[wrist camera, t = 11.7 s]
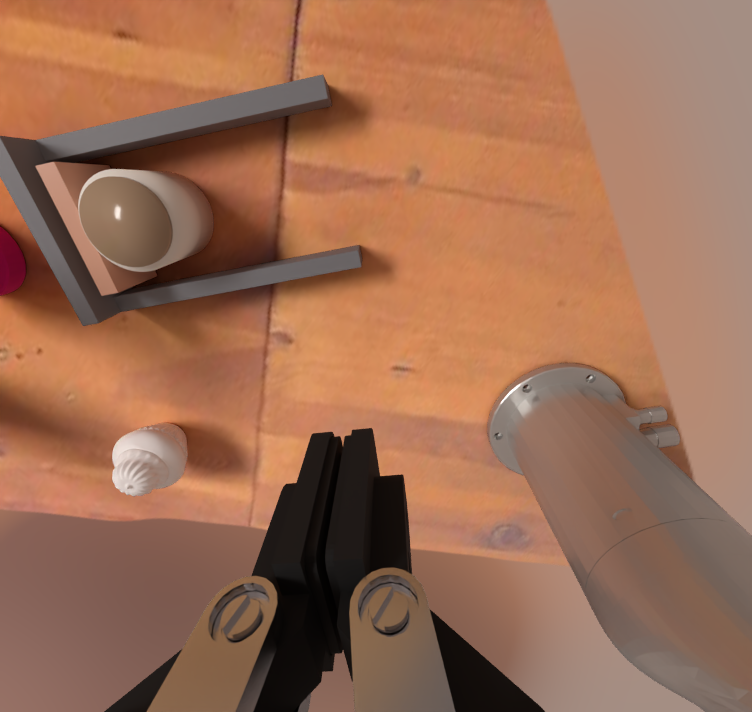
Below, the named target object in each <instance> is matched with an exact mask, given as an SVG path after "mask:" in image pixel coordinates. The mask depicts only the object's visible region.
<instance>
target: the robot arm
mask: <svg viewBox="0 0 752 712" xmlns="http://www.w3.org/2000/svg"><path fill="white" fill-rule="evenodd" d="M666 420H667V412H666V410H665V409H664V408H663V407H662V406H654V407H648V408H643V409H639V410H635V409H634V408H630V407H629V406H628V405H627V404H626V401H625V398H624V395H623V393H622V391H621V390H620V388H619V387H618V385H617V384H616V383H615V382H614V381H613V380H611V379H610V378H609V377H608V376H607V375H605V374H604V373H602V372H601V371H600V370H598V369H595V368H593V367H590V366H588V365H582V364H577V363H559V364H553V365H547V366H544V367H541V368H538V369H535V370H533V371H531V372H529V373H527V374H525V375H523V376H521V377H520V378H518V379H517V380H516V381H514V382H513V383H511V384H510V385H509V386H508V387H507V388H506V389H505V390H504V391H503V392H502V393H501V395H500V396H499V397H498V399H497V400H496V402H495V403H494V405H493V407H492V410H491V412H490V414H489V419H488V424H487V434H488V438H489V442H490V445H491V447H492V449H493V452H494V454H495V455H496V456H497V458H498V459H499V461H500V462H501V463H502V464H504V465H505V466H506V467H507V468H509V469H510V470H512V471H514V472H516V473H518V474H521V475H524V476H525V478H526V480H527V482H528V484H529V486H530V488H531V490H532V492H533V494H534V496H535V498H536V500H537V502H538V504H539V506H540V508H541V510H542V512H543V513H544V515H545V517H546V519H547V521H548V523H549V525H550V527H551V529H552V531H553V533H554V535H555V537H556V539H557V541H558V543H559V545H560V547H561V549H562V551H563V553H564V555H565V557H566V559H567V561H568V562H569V564H570V566H571V568H572V570H573V572H574V574H575V576H576V578H577V580H578V582H579V584H580V586H581V588H582V590H583V592H584V594H585V596H586V597H587V600H588V602H589V604H590V606H591V608H592V610H593V612H594V614H595V616H596V618H597V620H598V621H599V623H600V625H601V627H602V628H603V630H604V632H605V633H606V635H607V636H608V638H609V639H610V640H611V641H612V643H613V645H614V646H615V647H616V648H617V649H618V650H619V651H620V653H621V654H622V655H623V656H624V657H625V658H626V659H627V660H628V661H629V662H630V663H632V664H633V665H634V666H635V667H636V668H637V669H639V670H640V671H641V672H643V673H644V674H646V675H647V676H648V677H650V678H651V679H653V680H654V681H656V682H657V683H659V684H661V685H662V686H664V687H666V688H667V689H669V690H671V691H672V692H674V693H676V694H678V695H680V696H681V697H683V698H685V699H687V700H688V701H690V702H692V703H694V704H695V705H697V706H698V707H700V708H701V709H702V710H703V711H705V712H752V536H751V535H750V534H749V533H748V532H747V531H746V530H745V529H744V528H743V527H742V526H741V525H740V524H739V523H737V522H736V521H735V520H734V519H733V518H732V517H731V516H730V515H729V514H728V513H727V512H726V511H725V510H724V509H723V508H721V507H720V506H719V505H718V504H717V503H716V502H715V501H714V500H713V499H712V498H711V497H710V496H709V495H708V494H707V493H705V492H704V491H703V490H702V489H701V488H700V487H699V486H698V485H697V484H696V483H695V482H694V481H693V480H692V479H691V478H689V477H688V476H687V475H686V474H685V473H684V472H683V471H682V470H681V469H680V468H679V467H678V466H677V465H676V464H675V463H673V462H672V461H671V460H670V459H669V458H668V457H667V456H666V455H665V454H664V453H663V452H662V451H661V450H660V449H658V448H664V447H671V446H676V445H678V444H679V442H680V436H679V433H678V431H677V429H676V428H675V427H674V426H672V425H671V424H667V425H660V426H653V427H647V428H646V429H639V426H640V424H644V423H649V424H650V423H657V422H663V421H666ZM342 650H344V654H345V657H346V661H347V665H348V668H349V672H350V676H351V679H352V681H353V691H354V707H355V708H354V709H355V712H545V711H544V710H543V709H542V708H541V707H540V706H539V705H538V704H537V703H536V702H534V701H533V700H532V699H531V698H530V697H529V696H528V695H526V694H525V693H524V692H523V691H522V690H521V689H520V688H519V687H517V686H516V685H515V684H514V683H513V682H512V681H511V680H509V679H508V678H507V677H506V676H505V675H504V674H503V673H502V672H500V671H499V670H498V669H497V668H496V667H495V666H494V665H492V664H491V663H490V662H489V661H488V660H487V659H486V658H484V657H483V656H482V655H481V654H480V653H479V652H478V651H477V650H475V649H474V648H473V647H472V646H471V645H470V644H469V643H467V642H466V641H465V640H464V639H463V638H462V637H461V636H460V635H458V634H457V633H456V632H455V631H454V630H452V628H450V627H449V626H448V625H447V624H446V623H445V622H444V621H442V620H441V619H440V618H439V617H438V616H437V615H436V614H435V613H433V612H432V611H431V610H430V609H429V605H428V601H427V597H426V594H425V591H424V589H423V587H422V585H421V583H420V582H419V581H418V580H417V579H416V578H415V576H413V575H412V568H411V553H410V536H409V522H408V511H407V501H406V492H405V484H404V477H403V475H391V476H380V473H379V466H378V460H377V453H376V447H375V441H374V434H373V430H372V428H369V429H358V430H352V434H351V435H350V436H345V439H344V445H342V441H341V437H340V436H338V437H334V434H333V432H325V433H314V434H312V436H311V438H310V442H309V445H308V448H307V451H306V454H305V458H304V461H303V464H302V467H301V470H300V474H299V477H298V480H297V483H292V484H286V485H285V486H284V487H283V489H282V491H281V494H280V497H279V500H278V503H277V505H276V508H275V511H274V514H273V517H272V520H271V522H270V525H269V528H268V531H267V534H266V537H265V539H264V542H263V545H262V548H261V551H260V554H259V557H258V559H257V562H256V565H255V568H254V571H253V573H252V576H247V577H244V578H241V579H238V580H235V581H234V582H232V583H230V584H229V585H227V586H225V587H224V588H223V589H222V590H221V591H220V592H219V593H218V594H217V595H215V596H214V598H213V599H212V601H211V602H210V603H209V604H208V606H207V607H206V609H205V611H204V612H203V614H202V616H201V618H200V619H199V621H198V623H197V625H196V626H195V628H194V630H193V632H192V633H191V635H190V637H189V639H188V640H187V642H186V644H185V646H184V647H183V649H182V650H180V651H179V652H178V653H177V654H176V655H174V656H173V657H172V658H171V659H169V660H168V661H167V662H166V663H164V664H163V665H162V666H161V667H160V668H158V669H157V670H156V671H154V672H153V673H152V674H151V675H149V676H148V677H147V678H146V679H144V680H143V681H142V682H141V683H140V684H138V685H137V686H136V687H134V688H133V689H132V690H131V691H129V692H128V693H127V694H126V695H125V696H123V697H122V698H121V699H120V700H118V701H117V702H116V703H115V704H113V705H112V706H111V707H109V708H108V709H107V710H106V711H105V712H308V710H309V704H310V697H311V692H312V691H313V690H314V689H315V688H316V687H317V686H318V684H319V683H320V682H321V678H322V672H323V671H333V665H334V664H333V663H334V656H335V653H342Z"/></svg>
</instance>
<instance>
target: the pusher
mask: <svg viewBox="0 0 752 712" xmlns="http://www.w3.org/2000/svg"><path fill="white" fill-rule="evenodd" d="M35 167H36V168H37V170H38V172H39V174H40V176H41V178H42V180H43V182H44V184H45V186H46V188H47V190H48V192H49V194H50V196H51V198H52V200H53V202H54V204H55V206H56V208H57V209H58V211H59V213H60V215H61V217H62V219H63V221H64V223H65V225H66V227H67V229H68V231H69V233H70V235H71V237H72V239H73V241H74V243H75V245H76V247H77V249H78V250H79V252H80V254H81V256H82V258H83V260H84V262H85V264H86V266H87V268H88V270H89V272H90V274H91V276H92V278H93V280H94V282H95V284H96V286H97V288H98V290H99V292H100V293H101V295H102V296H104V295H109V294H114V293H119V292H121V291H123V290H126V289H128V288H130V287H133V286H135V285H138V284H140V283H142V282H145V281H147V280H149V279H152V278H154V277H156V276H157V274H156V271H155V270H153V271H148V272H137V271H131V270H127V269H124V268H122V267H120V266H117V265H115V264H114V263H112V262H111V261H109V260H108V259H106V258H105V257H104V256H103V255H101V254H100V253H99V252H98V251H97V250H96V248H95V247H94V246H93V245H92V243H91V242H90V241H89V239H88V237H87V236H86V234H85V232H84V230H83V227H82V225H81V222H80V218H79V211H78V202H79V196H80V193H81V190H82V188H83V186H84V184H85V183H86V182H87V181H88V179H89V178H91V177H92V176H93V175H95V174H96V173H98V172H101V171H104V170H109V169H111V168H110V166H109V165H96V164H81V163H66V162H50V163H46V164H41V165H37V166H35Z"/></svg>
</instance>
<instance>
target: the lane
mask: <svg viewBox="0 0 752 712" xmlns="http://www.w3.org/2000/svg"><path fill="white" fill-rule="evenodd" d="M330 106H332V103H331V98H330V93H329V88H328V84H327V82H326V80H325V78H324V76H323V75H319V76H314V77H310V78H306V79H301V80H297V81H293V82H288V83H284V84H279V85H275V86H271V87H266V88H262V89H258V90H253V91H249V92H244V93H240V94H236V95H231V96H227V97H222V98H218V99H214V100H209V101H205V102H201V103H196V104H192V105H187V106H183V107H179V108H174V109H170V110H166V111H161V112H157V113H152V114H148V115H144V116H139V117H135V118H131V119H126V120H122V121H117V122H113V123H109V124H104V125H100V126H96V127H91V128H87V129H82V130H78V131H74V132H69V133H65V134H60V135H56V136H52V137H47V138H43V139H39V140H29V139H21V138H13V137H5V136H0V177H1V179H2V181H3V182H4V184H5V186H6V188H7V190H8V191H9V193H10V195H11V197H12V199H13V200H14V202H15V204H16V206H17V208H18V209H19V211H20V213H21V215H22V217H23V218H24V220H25V222H26V224H27V226H28V227H29V229H30V231H31V233H32V235H33V237H34V238H35V240H36V242H37V244H38V246H39V247H40V249H41V251H42V253H43V255H44V256H45V258H46V260H47V262H48V264H49V265H50V267H51V269H52V271H53V273H54V274H55V276H56V278H57V280H58V282H59V283H60V285H61V287H62V289H63V291H64V292H65V294H66V296H67V298H68V300H69V302H70V303H71V305H72V307H73V309H74V311H75V312H76V314H77V316H78V318H79V320H80V321H81V323H82V325H83V326H86V325H91V324H97V323H100V322H102V321H104V320H106V319H108V318H110V317H112V316H114V315H116V314H118V313H120V312H123V311H128V310H134V309H139V308H144V307H150V306H155V305H161V304H166V303H171V302H177V301H182V300H187V299H193V298H198V297H203V296H209V295H214V294H219V293H225V292H230V291H235V290H241V289H246V288H251V287H257V286H262V285H268V284H273V283H278V282H284V281H289V280H294V279H300V278H305V277H310V276H316V275H321V274H326V273H332V272H337V271H342V270H348V269H353V268H358V267H361V266H362V256H361V251H360V245H357V246H352V247H346V248H341V249H336V250H331V251H325V252H320V253H315V254H310V255H305V256H299V257H294V258H289V259H284V260H279V261H273V262H268V263H263V264H258V265H252V266H247V267H242V268H237V269H232V270H226V271H221V272H216V273H211V274H205V275H200V276H195V277H190V278H185V279H179V280H174V281H169V282H164V283H158V284H153V285H148V286H143V287H138V288H133V287H130V288H128V289H126V290H123V291H121V292H119V293H114V294H109V295H104V296H102V295H101V293H100V292H99V290H98V288H97V286H96V284H95V282H94V280H93V278H92V276H91V274H90V272H89V270H88V268H87V266H86V264H85V262H84V260H83V258H82V256H81V254H80V252H79V250H78V249H77V247H76V245H75V243H74V241H73V239H72V237H71V235H70V233H69V231H68V229H67V227H66V225H65V223H64V221H63V219H62V217H61V215H60V213H59V211H58V209H57V208H56V206H55V204H54V202H53V200H52V198H51V196H50V194H49V192H48V190H47V188H46V186H45V184H44V182H43V180H42V178H41V176H40V174H39V172H38V170H37V168H36V167H35V166H37V165H41V164H46V163H50V162H66V163H77V162H81V161H86V160H90V159H95V158H99V157H104V156H109V155H113V154H118V153H122V152H127V151H131V150H136V149H140V148H145V147H149V146H154V145H158V144H163V143H167V142H172V141H176V140H181V139H185V138H190V137H194V136H199V135H203V134H208V133H212V132H217V131H221V130H226V129H230V128H235V127H239V126H244V125H248V124H253V123H258V122H262V121H267V120H271V119H276V118H280V117H285V116H289V115H294V114H298V113H303V112H307V111H312V110H316V109H321V108H325V107H330Z"/></svg>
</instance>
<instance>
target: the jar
mask: <svg viewBox="0 0 752 712" xmlns="http://www.w3.org/2000/svg"><path fill="white" fill-rule="evenodd" d="M78 211H79V218H80V222H81V225H82V227H83V230H84V232H85V234H86V236H87V237H88V239H89V241H90V242H91V243H92V245H93V246H94V247H95V248H96V250H97V251H98V252H99V253H100V254H101V255H103V256H104V257H105V258H106V259H108V260H109V261H111V262H112V263H114V264H115V265H117V266H120V267H122V268H124V269H127V270H131V271H137V272H148V271H153V270H157V269H159V268H162V267H164V266H167V265H169V264H172V263H174V262H177V261H179V260H182V259H184V258H187V257H189V256H192V255H194V254H197V253H199V252H200V251H202V250H203V249H204V248H205V247H206V246H207V244H208V243H209V241H210V240H211V237H212V234H213V230H214V218H213V213H212V209H211V207H210V204H209V202H208V200H207V198H206V197H205V195H204V194H203V192H202V191H201V190H200V189H199V188H198V187H197V186H196V185H195V184H194V183H193V182H191V181H190V180H189V179H187V178H185V177H183V176H181V175H179V174H176V173H172V172H163V171H145V170H127V169H109V170H104V171H101V172H98V173H96V174H95V175H93V176H92V177H91V178H89V179H88V181H87V182H86V183H85V184H84V186H83V188H82V190H81V193H80V196H79V202H78Z"/></svg>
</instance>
